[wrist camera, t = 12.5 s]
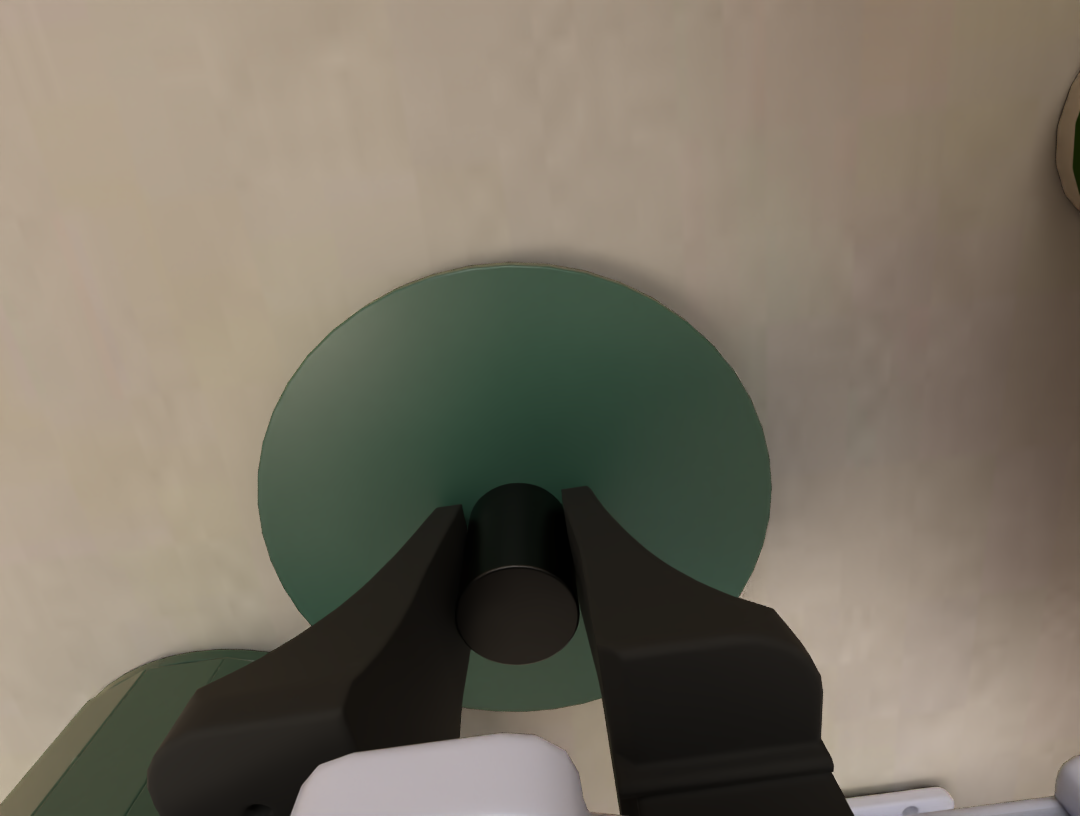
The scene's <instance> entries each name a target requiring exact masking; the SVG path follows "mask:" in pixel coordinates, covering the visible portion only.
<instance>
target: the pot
mask: <svg viewBox="0 0 1080 816" xmlns="http://www.w3.org/2000/svg"><path fill="white" fill-rule="evenodd" d="M268 653H270V652H262V651H253V650H229V649H218V650H207V651H195V652H189V653H184V654H179V655H174V656H169V657H166V658H163V659H160V660H157V661H154V662H151V663H148V664H145V665H143V666H141V667H139V668H137V669H135V670H132V671H130V672H128V673H126V674H125V675H123V676H122V677H120V678H118V679H117V680H115V681H114V682H112V683H111V684H109V685H108V686H107V687H106V688H105V689H104V690H102V691H101V692H100V693H99V694H98V695H97V696H96V697H94V698H93V699H91V700H89V701H88V702H87V703H86V704H85V705H84V706H83V707H82V708H81V710H80V711H79V712H78V713H77V714H76V716H75V717H74V718H73V719H72V720H71V722H70V723H69V724H68V725H67V726H66V727H65V729H64V730H63V731H62V732H61V733H60V735H59V736H58V737H57V738H56V739H55V740H54V742H53V743H52V744H51V745H50V746H49V748H48V749H47V750H46V751H45V752H44V753H43V755H42V756H41V757H40V758H39V759H38V761H37V762H36V763H35V764H34V765H33V766H32V768H31V769H30V770H29V771H28V772H27V774H26V775H25V776H24V777H23V778H22V780H21V781H20V782H19V783H18V784H17V785H16V787H15V788H14V789H13V790H12V791H11V793H10V794H9V795H8V796H7V797H6V798H5V800H4V801H3V802H2V803H1V804H0V816H160V815H159V813H158V811H157V810H156V808H155V806H154V804H153V801H152V799H151V796H150V793H149V791H148V788H147V770H148V768H149V765H150V763H151V761H152V759H153V756H154V755H155V753H156V751H157V750H158V748H159V747H160V745H161V744H162V742H163V741H164V739H165V738H166V736H167V735H168V733H169V731H170V730H171V728H172V727H173V725H174V724H175V722H176V721H177V719H178V718H179V716H180V714H181V713H182V711H183V710H184V708H185V707H186V705H187V704H188V702H189V701H190V699H191V698H192V696H193V695H194V693H195V692H196V690H197V689H199V688H201V687H203V686H205V685H207V684H210V683H212V682H214V681H216V680H218V679H220V678H222V677H224V676H226V675H228V674H230V673H232V672H234V671H236V670H238V669H240V668H242V667H244V666H246V665H248V664H250V663H252V662H254V661H255V660H257V659H259V658H261V657H263V656H264V655H266V654H268Z"/></svg>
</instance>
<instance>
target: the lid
mask: <svg viewBox="0 0 1080 816" xmlns="http://www.w3.org/2000/svg"><path fill="white" fill-rule="evenodd" d="M581 486H588V487H589V488H591V489H592V491H593V493H594V494H595V496H596V497H597V499H598V500H599V501H600V503H601V504H602V505H603V506H604V508H605V509H606V510H607V511H608V512H609V513H610V515H611V516H612V517H613V518H614V519H615V520H616V521H617V522H618V523H619V524H620V525H621V526H622V527H623V528H624V529H625V530H626V531H627V532H628V533H629V534H630V535H631V536H632V537H633V538H634V539H636V540H637V541H638V542H639V543H640V544H641V545H642V546H644V547H645V548H646V549H647V550H649V551H650V552H651V553H653V554H654V555H655V556H657V557H658V558H659V559H661V560H662V561H664V562H665V563H667V564H668V565H670V566H671V567H673V568H675V569H677V570H678V571H680V572H682V573H684V574H686V575H687V576H689V577H691V578H693V579H695V580H697V581H699V582H701V583H703V584H705V585H708V586H710V587H712V588H715V589H717V590H719V591H722V592H724V593H727V594H729V595H732V596H734V597H739V596H740V594H741V592H742V591H743V589H744V587H745V585H746V583H747V581H748V580H749V578H750V576H751V574H752V572H753V570H754V568H755V565H756V562H757V560H758V557H759V554H760V552H761V549H762V546H763V543H764V539H765V534H766V530H767V526H768V521H769V516H770V503H771V490H772V486H771V472H770V459H769V454H768V450H767V445H766V441H765V437H764V432H763V428H762V426H761V423H760V421H759V418H758V416H757V413H756V411H755V408H754V406H753V403H752V401H751V399H750V397H749V395H748V393H747V392H746V390H745V388H744V387H743V385H742V383H741V382H740V380H739V378H738V377H737V375H736V373H735V371H734V370H733V369H732V368H731V367H730V365H729V364H728V363H727V362H726V360H725V359H724V358H723V357H722V356H721V354H720V353H719V352H718V351H717V349H716V348H715V347H714V346H713V345H712V344H711V343H710V342H709V341H708V340H707V339H706V338H705V337H703V336H702V335H701V334H700V333H699V332H698V331H697V330H696V329H695V328H694V327H692V326H691V325H690V324H689V323H688V322H687V321H686V320H684V319H683V318H682V317H680V316H679V315H677V314H676V313H674V312H673V311H672V310H670V309H669V308H667V307H666V306H664V305H663V304H661V303H660V302H658V301H657V300H655V299H654V298H652V297H650V296H648V295H646V294H644V293H642V292H640V291H638V290H635V289H633V288H631V287H629V286H627V285H625V284H623V283H621V282H618V281H615V280H612V279H609V278H606V277H603V276H600V275H597V274H594V273H591V272H588V271H584V270H579V269H573V268H568V267H562V266H557V265H551V264H540V263H518V262H505V263H493V264H482V265H471V266H467V267H462V268H458V269H453V270H449V271H445V272H440V273H436V274H432V275H430V276H427V277H424V278H422V279H419V280H416V281H414V282H411V283H408V284H406V285H403V286H401V287H398V288H396V289H395V290H393V291H391V292H389V293H387V294H385V295H384V296H382V297H380V298H378V299H376V300H374V301H373V302H371V303H369V304H367V305H366V306H364V307H363V308H362V309H360V310H359V311H358V312H356V313H355V314H354V315H352V316H351V317H350V318H348V319H347V320H346V321H344V322H343V323H342V324H340V325H339V326H338V327H336V328H335V329H334V330H332V331H331V332H330V333H329V334H328V335H327V336H326V337H325V338H324V339H323V340H322V342H321V343H320V344H319V345H318V346H317V347H316V348H315V349H314V350H313V351H312V352H311V353H310V354H309V355H308V356H307V357H306V359H305V360H304V361H303V363H302V364H301V365H300V367H299V368H298V370H297V371H296V372H295V374H294V375H293V376H292V378H291V379H290V381H289V382H288V383H287V385H286V387H285V389H284V391H283V393H282V395H281V397H280V399H279V401H278V403H277V405H276V407H275V409H274V411H273V413H272V416H271V419H270V422H269V425H268V428H267V431H266V434H265V437H264V440H263V445H262V451H261V457H260V463H259V469H258V508H259V515H260V521H261V528H262V534H263V537H264V540H265V543H266V547H267V550H268V553H269V556H270V560H271V562H272V564H273V566H274V569H275V571H276V573H277V575H278V577H279V579H280V581H281V583H282V585H283V587H284V589H285V590H286V592H287V593H288V595H289V597H290V598H291V600H292V601H293V603H294V604H295V606H296V607H297V609H298V610H299V612H300V613H301V614H302V615H303V616H304V618H305V619H306V620H307V621H308V622H309V623H310V625H311V626H312V625H314V624H315V623H317V622H318V621H319V620H321V619H322V618H324V617H325V616H327V615H328V614H329V613H331V612H332V611H334V610H335V609H336V608H337V607H339V606H340V605H341V604H343V603H344V602H345V601H346V600H347V599H349V598H350V597H351V596H352V595H353V594H355V593H356V592H357V591H358V590H359V589H360V588H362V587H363V586H364V585H365V584H366V583H367V582H368V581H369V580H370V579H371V578H372V577H373V576H374V575H375V574H376V573H377V572H378V571H379V570H380V569H381V568H382V567H383V566H384V565H385V564H386V563H387V562H388V561H389V560H390V559H391V558H392V557H393V556H394V555H395V554H396V553H397V552H398V551H399V550H400V549H401V548H402V546H403V545H404V544H405V543H406V542H407V541H408V540H409V539H410V537H411V536H412V535H413V534H414V533H415V532H416V531H417V529H418V528H419V527H420V526H421V525H422V524H423V522H424V521H425V520H426V519H427V518H428V516H429V515H430V514H431V513H432V512H433V511H434V510H435V509H436V508H437V507H444V506H451V505H458V504H462V508H463V512H464V517H465V521H466V525H467V530H468V531H467V537H466V543H465V550H464V556H463V562H462V569H461V575H460V581H459V588H458V594H457V600H456V607H455V623H456V627H457V630H458V632H459V634H460V636H461V638H462V639H463V641H464V642H465V643H466V645H467V646H468V647H469V648H470V649H471V652H470V658H469V664H468V670H467V676H466V682H465V688H464V695H463V703H462V707H464V708H469V709H479V710H488V711H506V712H527V711H539V710H550V709H557V708H563V707H568V706H573V705H579V704H583V703H587V702H590V701H594V700H597V699H600V698H602V695H601V691H600V686H599V681H598V676H597V672H596V669H595V665H594V661H593V657H592V653H591V649H590V645H589V641H588V637H587V633H586V629H585V625H584V621H583V617H582V614H581V610H580V606H579V601H578V594H577V586H576V579H575V572H574V565H573V558H572V553H571V549H570V545H569V540H568V533H567V527H566V520H565V514H564V508H563V501H562V492H561V489H567V488H574V487H581Z"/></svg>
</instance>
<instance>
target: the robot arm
mask: <svg viewBox="0 0 1080 816" xmlns="http://www.w3.org/2000/svg"><path fill="white" fill-rule="evenodd" d="M561 492H562V501H563V508H564V514H565V520H566V527H567V533H568V540H569V545H570V549H571V553H572V558H573V565H574V572H575V579H576V586H577V594H578V601H579V606H580V610H581V614H582V617H583V621H584V625H585V629H586V633H587V637H588V641H589V645H590V649H591V653H592V657H593V661H594V665H595V669H596V672H597V676H598V681H599V686H600V691H601V695H602V701H603V708H604V714H605V721H606V727H607V733H608V740H609V746H610V753H611V759H612V766H613V772H614V778H615V785H616V791H617V798H618V804H619V811H620V815H614V814H605V813H595V812H589V810H588V809H587V806H586V804H585V801H584V799H583V793H582V787H581V782H580V776H579V772H578V770H577V769H576V767H575V765H574V764H573V762H572V760H571V759H570V757H569V755H568V754H567V752H566V750H564V749H562V748H560V747H558V746H556V745H554V744H552V743H550V742H549V741H547V740H545V739H543V738H541V737H539V736H537V735H535V734H521V733H503V732H502V733H494V734H487V735H480V736H472V737H465V738H460V724H461V711H462V703H463V695H464V688H465V682H466V676H467V670H468V664H469V658H470V652H471V649H470V648H469V647H468V646H467V645H466V643H465V642H464V641H463V639H462V638H461V636H460V634H459V632H458V630H457V627H456V623H455V607H456V600H457V594H458V588H459V581H460V575H461V569H462V562H463V556H464V550H465V543H466V537H467V531H468V530H467V525H466V521H465V517H464V512H463V508H462V504H458V505H451V506H444V507H437V508H436V509H435V510H434V511H433V512H432V513H431V514H430V515H429V516H428V518H427V519H426V520H425V521H424V522H423V524H422V525H421V526H420V527H419V528H418V529H417V531H416V532H415V533H414V534H413V535H412V536H411V537H410V539H409V540H408V541H407V542H406V543H405V544H404V545H403V546H402V548H401V549H400V550H399V551H398V552H397V553H396V554H395V555H394V556H393V557H392V558H391V559H390V560H389V561H388V562H387V563H386V564H385V565H384V566H383V567H382V568H381V569H380V570H379V571H378V572H377V573H376V574H375V575H374V576H373V577H372V578H371V579H370V580H369V581H368V582H367V583H366V584H365V585H364V586H363V587H362V588H360V589H359V590H358V591H357V592H356V593H355V594H353V595H352V596H351V597H350V598H349V599H347V600H346V601H345V602H344V603H343V604H341V605H340V606H339V607H337V608H336V609H335V610H334V611H332V612H331V613H329V614H328V615H327V616H325V617H324V618H322V619H321V620H319V621H318V622H317V623H315V624H314V625H312V626H311V627H310V628H308V629H307V630H305V631H304V632H302V633H301V634H299V635H298V636H296V637H295V638H293V639H291V640H290V641H288V642H287V643H285V644H283V645H282V646H280V647H278V648H277V649H275V650H273V651H271V652H270V653H268V654H266V655H264V656H263V657H261V658H259V659H257V660H255V661H254V662H252V663H250V664H248V665H246V666H244V667H242V668H240V669H238V670H236V671H234V672H232V673H230V674H228V675H226V676H224V677H222V678H220V679H218V680H216V681H214V682H212V683H210V684H207V685H205V686H203V687H201V688H199V689H197V690H196V692H195V693H194V695H193V696H192V698H191V699H190V701H189V702H188V704H187V705H186V707H185V708H184V710H183V711H182V713H181V714H180V716H179V718H178V719H177V721H176V722H175V724H174V725H173V727H172V728H171V730H170V731H169V733H168V735H167V736H166V738H165V739H164V741H163V742H162V744H161V745H160V747H159V748H158V750H157V751H156V753H155V755H154V756H153V759H152V761H151V763H150V765H149V768H148V770H147V788H148V791H149V793H150V796H151V799H152V801H153V804H154V806H155V808H156V810H157V811H158V813H159V815H160V816H1080V755H1078V756H1074V757H1072V758H1071V759H1069V760H1068V761H1066V762H1065V763H1063V765H1062V766H1061V768H1060V770H1059V771H1058V774H1057V778H1056V784H1055V796H1050V797H1042V798H1035V799H1027V800H1019V801H1011V802H1004V803H996V804H988V805H981V806H973V807H965V808H957V809H954V800H953V798H952V797H951V796H950V794H949V793H948V791H947V790H946V789H944V788H941V787H928V788H921V789H913V790H905V791H898V792H890V793H883V794H875V795H867V796H860V797H852V798H845V797H844V795H843V793H842V791H841V789H840V787H839V785H838V784H837V782H836V780H835V778H834V776H833V774H832V772H833V771H834V764H833V761H832V758H831V756H830V754H829V752H828V751H827V749H826V747H825V745H824V743H823V741H822V740H821V725H822V704H823V689H822V681H821V675H820V673H819V672H818V670H817V668H816V666H815V664H814V662H813V660H812V659H811V657H810V655H809V653H808V652H807V650H806V649H805V647H804V646H803V644H802V643H801V642H800V640H799V639H798V638H797V637H796V635H795V634H794V633H793V632H792V631H791V629H790V628H789V627H788V626H787V624H786V623H785V622H784V621H783V620H782V618H781V617H780V616H779V615H778V614H777V613H776V611H775V610H774V609H773V608H769V607H766V606H763V605H760V604H757V603H753V602H750V601H747V600H744V599H741V598H738V597H734V596H732V595H729V594H727V593H724V592H722V591H719V590H717V589H715V588H712V587H710V586H708V585H705V584H703V583H701V582H699V581H697V580H695V579H693V578H691V577H689V576H687V575H686V574H684V573H682V572H680V571H678V570H677V569H675V568H673V567H671V566H670V565H668V564H667V563H665V562H664V561H662V560H661V559H659V558H658V557H657V556H655V555H654V554H653V553H651V552H650V551H649V550H647V549H646V548H645V547H644V546H642V545H641V544H640V543H639V542H638V541H637V540H636V539H634V538H633V537H632V536H631V535H630V534H629V533H628V532H627V531H626V530H625V529H624V528H623V527H622V526H621V525H620V524H619V523H618V522H617V521H616V520H615V519H614V518H613V517H612V516H611V515H610V513H609V512H608V511H607V510H606V509H605V508H604V506H603V505H602V504H601V503H600V501H599V500H598V499H597V497H596V496H595V494H594V493H593V491H592V489H591V488H589V487H588V486H581V487H574V488H567V489H561Z"/></svg>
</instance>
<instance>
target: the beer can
mask: <svg viewBox="0 0 1080 816" xmlns="http://www.w3.org/2000/svg"><path fill="white" fill-rule="evenodd" d="M1056 166H1057V169H1058V173H1059V176H1060V180H1061V183H1062V187H1063V190H1064V194H1065V195H1066V196H1067V197H1068V198H1069V200H1070V201H1071V202H1072V203H1073V205H1074V206H1075V207H1076V208H1077V209H1078V211H1079V212H1080V73H1079V74H1078V76H1077V77H1076V79H1075V81H1074V82H1073V84H1072V85H1071V88H1070V91H1069V94H1068V97H1067V100H1066V103H1065V106H1064V109H1063V112H1062V115H1061V118H1060V121H1059V124H1058V132H1057V149H1056Z"/></svg>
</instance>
